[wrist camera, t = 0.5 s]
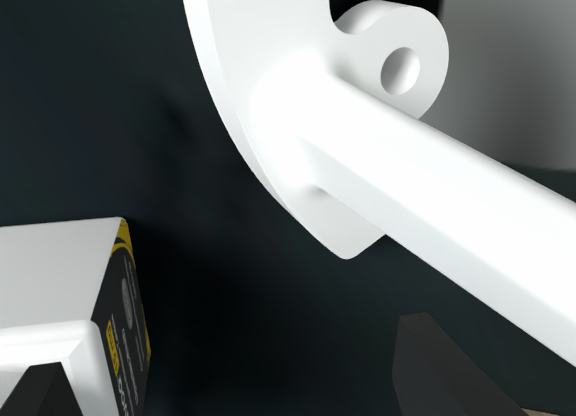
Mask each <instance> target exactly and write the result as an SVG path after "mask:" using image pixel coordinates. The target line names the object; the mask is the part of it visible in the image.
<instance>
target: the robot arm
mask: <svg viewBox="0 0 576 416" xmlns="http://www.w3.org/2000/svg"><path fill="white" fill-rule="evenodd" d="M392 380H393V384H394V388H395V391H396V395H397V398H398V402H399V405H400V408H401V412H402V415H403V416H529V415H528V414H527V413H526V412H525V411H524V410H522V409H521V408H520V407H519V406H518V405H517V404H516V403H515V402H514V401H513V400H512V399H511V398H510V397H509V396H507V395H506V394H505V393H504V392H503V391H502V390H501V389H500V388H499V387H498V386H497V385H496V384H495V383H494V382H493V381H492V380H491V379H490V378H489V377H488V376H487V375H486V374H485V373H484V372H483V371H482V370H481V369H480V368H479V367H478V366H477V365H476V364H475V363H474V362H473V361H472V360H471V359H470V358H469V357H468V356H467V355H466V354H465V353H464V352H463V351H462V350H461V348H460V347H459V346H458V345H457V344H456V343H455V342H454V341H453V340H452V339H451V338H450V337H449V336H448V335H447V333H446V332H445V331H444V330H443V329H442V328H441V327H440V326H439V325H438V324H437V323H436V322H435V320H434V319H433V318H432V317H431V316H430V315H429V314H427V313H419V314H411V315H404V316H399V322H398V330H397V338H396V346H395V354H394V361H393V369H392ZM0 416H83V414H82V411H81V409H80V407H79V404H78V402H77V399H76V397H75V394H74V392H73V390H72V387H71V385H70V382H69V380H68V378H67V375H66V373H65V370H64V368H63V365H62V363H61V362H53V363H46V364H39V365H31V366H29V367H28V368H27V369H26V371H25V372H24V374H23V375H22V377H21V378H20V380H19V381H18V383H17V384H16V386H15V387H14V389H13V390H12V392H11V393H10V395H9V396H8V398H7V399H6V401H5V402H4V404H3V405H2V407H1V408H0Z"/></svg>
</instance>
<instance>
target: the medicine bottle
mask: <svg viewBox="0 0 576 416" xmlns="http://www.w3.org/2000/svg"><path fill="white" fill-rule="evenodd" d="M150 354H151V350H150V345H149V339H148V334H147V328H146V323H145V317H144V312H143V306H142V301H141V295H140V290H139V284H138V279H137V273H136V268H135V262H134V257H133V251H132V246H131V240H130V235H129V229H128V225H127V222H126V220H125V219H123V218H122V217H109V218H98V219H86V220H74V221H63V222H51V223H40V224H28V225H17V226H5V227H0V408H1V407H2V405H3V404H4V402H5V401H6V399H7V398H8V396H9V395H10V393H11V392H12V390H13V389H14V387H15V386H16V384H17V383H18V381H19V380H20V378H21V377H22V375H23V374H24V372H25V371H26V369H27V368H28V367H29V366H31V365H39V364H46V363H53V362H61V363H62V365H63V368H64V370H65V373H66V375H67V378H68V380H69V382H70V385H71V387H72V390H73V392H74V394H75V397H76V399H77V402H78V404H79V407H80V409H81V411H82V414H83V416H142V415H143V408H144V400H145V392H146V385H147V377H148V370H149V362H150Z"/></svg>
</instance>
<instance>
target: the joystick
mask: <svg viewBox="0 0 576 416" xmlns="http://www.w3.org/2000/svg"><path fill="white" fill-rule="evenodd" d="M183 1H184V6H185V11H186V15H187V20H188V24H189V28H190V32H191V36H192V40H193V43H194V47H195V50H196V54H197V57H198V60H199V63H200V66H201V69H202V72H203V75H204V78H205V81H206V83H207V86H208V89H209V91H210V94H211V96H212V99H213V101H214V103H215V106H216V108H217V110H218V112H219V115H220V117H221V119H222V121H223V123H224V125H225V127H226V129H227V131H228V132H229V134H230V136H231V138H232V140H233V142H234V143H235V145H236V147H237V148H238V150H239V152H240V153H241V155H242V156H243V158H244V160H245V161H246V163H247V164H248V165H249V167H250V168H251V170H252V171H253V173H254V174H255V175H256V177H257V178H258V179H259V181H260V182H261V183H262V184H263V185H264V187H265V188H266V189H267V190H268V191H269V192H270V194H271V195H272V196H273V197H274V198H275V199H276V200H277V201H278V202H279V203H280V204H281V205H282V206H283V207H284V208H285V209H286V210H287V211H288V212H289V213H290V214H291V215H292V216H293V217H294V218H295V219H296V220H297V221H299V222H300V223H301V224H302V225H303V226H304V227H305V228H306V229H307V230H308V231H309V232H310V233H311V234H312V235H313V236H314V237H315V238H316V239H317V240H319V241H320V242H321V243H322V244H323V245H324V246H326V247H327V248H328V249H329V250H331V251H332V252H333V253H335V254H336V255H338V256H339V257H340V258H343V259H350V258H353V257H355V256H356V255H358V254H359V253H361V252H362V251H363V250H365V249H366V248H367V247H369V246H370V245H371V244H373V243H374V242H375V241H377V240H378V239H379V238H381V237H382V236H383V235H385V234H387V235H388V236H390V237H391V238H392V239H394V240H395V241H397V242H398V243H400V244H401V245H402V246H404V247H405V248H407V249H408V250H410V251H411V252H412V253H414V254H415V255H417V256H418V257H420V258H421V259H422V260H424V261H425V262H427V263H428V264H430V265H431V266H432V267H434V268H435V269H437V270H438V271H439V272H441V273H442V274H444V275H445V276H447V277H448V278H449V279H451V280H452V281H454V282H455V283H457V284H458V285H459V286H461V287H462V288H464V289H465V290H467V291H468V292H469V293H471V294H472V295H474V296H475V297H477V298H478V299H479V300H481V301H482V302H484V303H485V304H487V305H488V306H489V307H491V308H492V309H494V310H495V311H497V312H498V313H499V314H501V315H502V316H504V317H505V318H506V319H508V320H509V321H511V322H512V323H514V324H515V325H516V326H518V327H519V328H521V329H522V330H524V331H525V332H526V333H528V334H529V335H531V336H532V337H534V338H535V339H536V340H538V341H539V342H541V343H542V344H544V345H545V346H546V347H548V348H549V349H551V350H552V351H554V352H555V353H556V354H558V355H559V356H561V357H562V358H564V359H565V360H566V361H568V362H569V363H571V364H572V365H573V366H575V367H576V203H575V202H573V201H571V200H569V199H567V198H565V197H563V196H561V195H560V194H558V193H556V192H554V191H552V190H550V189H548V188H546V187H545V186H543V185H541V184H539V183H537V182H535V181H533V180H531V179H529V178H528V177H526V176H524V175H522V174H520V173H518V172H516V171H514V170H513V169H511V168H509V167H507V166H505V165H503V164H501V163H499V162H497V161H496V160H494V159H492V158H490V157H488V156H486V155H484V154H482V153H480V152H479V151H477V150H475V149H473V148H471V147H469V146H467V145H465V144H463V143H461V142H460V141H458V140H456V139H454V138H452V137H450V136H449V135H447V134H445V133H443V132H441V131H439V130H437V129H435V128H433V127H432V126H430V125H428V124H426V123H424V122H422V121H420V120H418V119H419V118H420V117H421V116H422V115H423V114H424V113H425V112H426V111H427V110H428V109H429V108H430V106H431V105H432V104H433V102H434V101H435V99H436V98H437V96H438V94H439V92H440V90H441V88H442V86H443V83H444V80H445V77H446V74H447V69H448V62H449V61H448V60H449V48H448V41H447V37H446V34H445V31H444V29H443V27H442V25H441V23H440V22H439V21H438V19H437V18H436V17H435V16H434V15H433V14H431V13H430V12H428V11H427V10H425V9H422V8H419V7H414V6H409V5H404V4H398V3H393V2H388V1H382V0H370V1H365V2H362V3H360V4H357V5H356V6H354V7H352V8H351V9H349V10H348V11H347V12H345V13H344V14H343V15H342V16H341V17H340V18H339V19H338V20H337V21H335V22H334V23H333V21H332V18H331V15H330V8H329V0H183Z"/></svg>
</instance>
